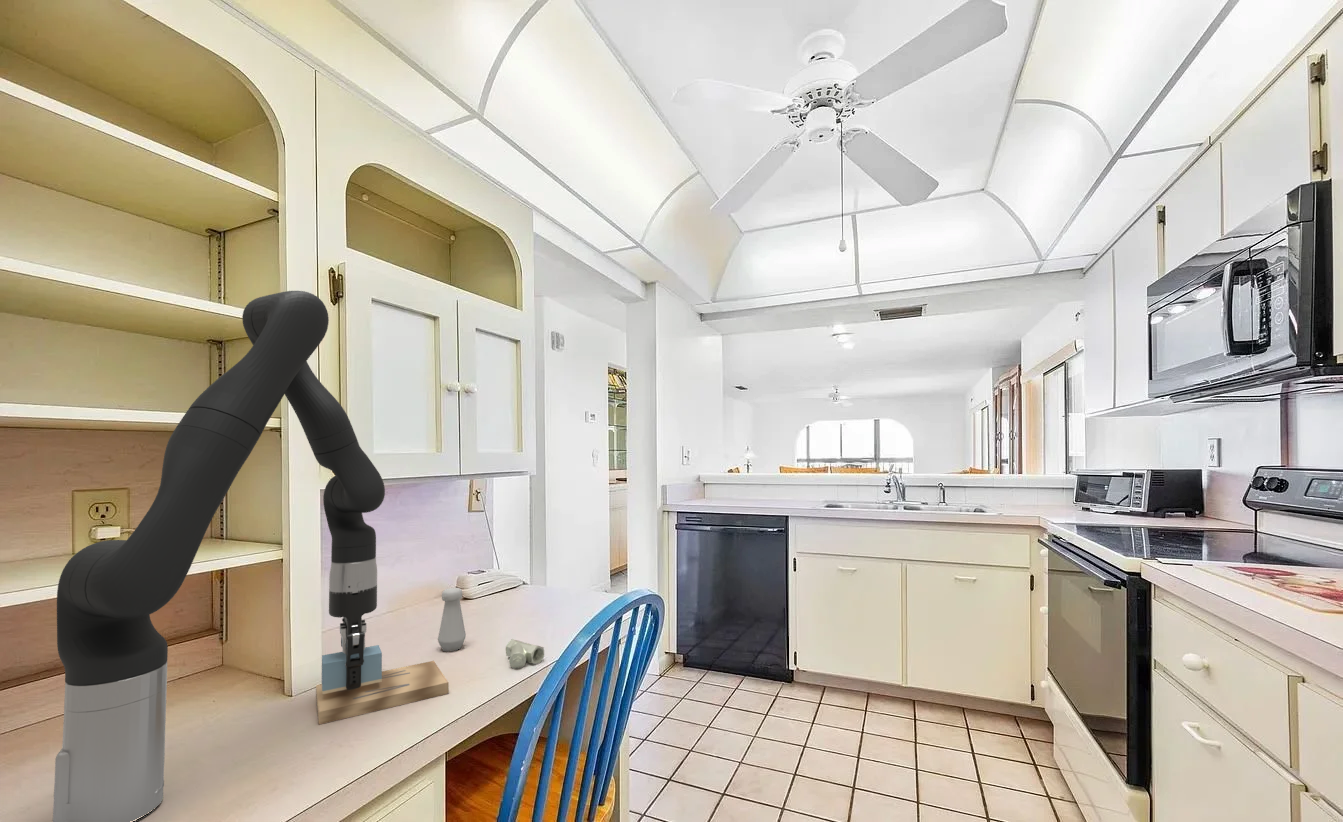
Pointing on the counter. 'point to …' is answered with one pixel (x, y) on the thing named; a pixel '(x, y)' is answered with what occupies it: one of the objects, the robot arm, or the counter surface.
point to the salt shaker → (452, 621)
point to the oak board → (383, 692)
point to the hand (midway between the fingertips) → (352, 682)
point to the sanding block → (337, 670)
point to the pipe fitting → (523, 653)
